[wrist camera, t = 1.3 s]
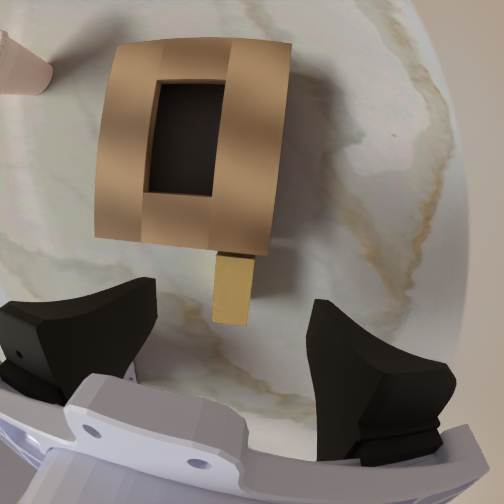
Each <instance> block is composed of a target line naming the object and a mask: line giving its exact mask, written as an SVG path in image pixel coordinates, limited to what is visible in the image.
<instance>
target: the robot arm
mask: <svg viewBox="0 0 504 504" xmlns="http://www.w3.org/2000/svg"><path fill="white" fill-rule="evenodd" d="M157 317H158V315H157V299H156V279H154V278H148V277H141V278H137V279H134V280H131V281H128V282H125V283H123V284H120V285H117V286H115V287H112V288H109V289H106V290H103V291H100V292H97V293H94V294H91V295H87V296H83V297H79V298H74V299H68V300H61V301H54V302H19V301H10V302H8V303H6V304H5V305H4V306H2V307H1V308H0V345H1V348H2V350H3V352H4V354H5V357H6V360H5V361H4V362H3V363H2V362H1V360H0V504H17V502H18V501H19V500H20V498H21V497H22V496H23V494H24V493H25V494H24V496H23V498H22V499H21V501H20V503H19V504H446V503H448V502H450V501H451V500H453V499H454V498H456V497H457V496H458V495H460V494H461V493H462V492H464V491H465V490H467V489H468V488H469V487H470V486H472V485H473V484H474V483H475V482H477V481H478V480H479V479H480V478H481V477H483V476H484V475H485V474H486V473H487V472H488V471H489V469H490V468H489V466H488V464H487V461H486V459H485V457H484V455H483V453H482V451H481V449H480V447H479V445H478V443H477V441H476V439H475V437H474V435H473V433H472V431H471V430H470V428H469V426H468V424H464V425H461V426H458V427H455V428H451V429H449V430H446V431H444V432H443V433H441V434H439V432H438V430H437V428H438V427H439V426H440V421H439V419H438V415H439V414H440V413H441V411H442V410H443V409H444V407H445V406H446V404H447V403H448V401H449V400H450V398H451V397H452V395H453V393H454V391H455V387H456V378H455V376H454V375H453V373H452V372H451V370H450V369H449V367H448V366H447V364H446V363H441V362H437V361H433V360H429V359H425V358H421V357H418V356H415V355H412V354H410V353H407V352H405V351H402V350H400V349H398V348H396V347H393V346H391V345H389V344H387V343H385V342H384V341H382V340H380V339H379V338H377V337H375V336H374V335H372V334H370V333H369V332H368V331H366V330H365V329H363V328H362V327H361V326H359V325H358V324H357V323H355V322H354V321H353V320H352V319H351V318H349V317H348V316H347V315H346V314H345V313H343V312H342V311H341V310H340V309H339V308H338V307H337V306H335V305H334V304H333V303H332V302H330V301H329V300H322V299H315V300H314V305H313V309H312V314H311V318H310V322H309V326H308V330H307V334H306V348H307V357H308V362H309V367H310V372H311V377H312V382H313V387H314V392H315V399H316V413H317V462H311V461H304V460H298V459H293V458H287V457H282V456H278V455H273V454H268V453H264V452H260V451H256V450H252V449H248V448H247V445H248V435H249V430H248V427H247V424H246V421H245V419H244V418H243V417H241V416H240V415H239V414H237V413H236V412H235V411H233V410H232V409H231V408H229V407H228V406H226V405H223V404H220V403H217V402H214V401H211V400H207V399H204V398H198V397H193V396H188V395H183V394H178V393H174V392H169V391H165V390H161V389H157V388H153V387H149V386H145V385H141V384H138V383H137V380H136V374H135V369H134V363H133V360H134V358H135V357H136V355H137V353H138V352H139V350H140V349H141V347H142V346H143V344H144V343H145V341H146V339H147V338H148V336H149V335H150V333H151V331H152V329H153V327H154V324H155V322H156V320H157Z"/></svg>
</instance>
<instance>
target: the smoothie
mask: <svg viewBox="0 0 504 504" xmlns="http://www.w3.org/2000/svg"><path fill="white" fill-rule="evenodd" d="M52 75H53V68H52V66H51V65H50V64H48V63H47V62H45V61H44V60H42V59H41V58H39V57H38V56H37V55H35V54H34V53H32V52H31V51H29V50H28V49H26V48H24V47H23V46H21V45H20V44H18V43H17V42H16V41H14V40H12V39H11V38H9V36H8V33H7V32H6V31H2V30H0V94H14V95H39V94H41V93H42V92H43V91H44V90H45V89H46V88H47V86H48V85H49V83H50V81H51V79H52Z"/></svg>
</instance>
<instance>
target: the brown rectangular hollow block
mask: <svg viewBox="0 0 504 504" xmlns="http://www.w3.org/2000/svg"><path fill="white" fill-rule="evenodd" d="M291 49H292V44H289V43H283V42H275V41H266V40H256V39H243V38H219V37H200V38H176V39H163V40H153V41H144V42H137V43H130V44H124V45H119V46H117V49H116V53H115V56H114V60H113V64H112V68H111V72H110V77H109V81H108V86H107V91H106V96H105V101H104V107H103V113H102V120H101V127H100V134H99V143H98V152H97V164H96V179H95V211H94V221H95V237H97V238H106V239H115V240H124V241H133V242H142V243H151V244H161V245H170V246H179V247H188V248H197V249H206V250H215V251H225V252H234V253H243V254H252V255H262V256H268V250H269V243H270V235H271V227H272V219H273V211H274V203H275V195H276V187H277V179H278V170H279V162H280V153H281V144H282V136H283V127H284V118H285V108H286V99H287V89H288V80H289V70H290V59H291ZM161 84H225V91H224V98H223V105H222V113H221V120H220V128H219V136H218V145H217V153H216V163H215V172H214V182H213V192H212V196H205V195H193V194H179V193H165V192H148V191H149V177H150V165H151V154H152V145H153V137H154V129H155V121H156V114H157V108H158V101H159V95H160V90H161Z"/></svg>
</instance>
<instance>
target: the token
mask: <svg viewBox="0 0 504 504" xmlns="http://www.w3.org/2000/svg"><path fill="white" fill-rule="evenodd" d="M254 261H255V255H252V254H243V253H234V252H225V251H218V253H217V255H216V266H215V280H214V295H213V312H212V322H216V323H224V324H233V325H242V326H247V319H248V311H249V303H250V295H251V286H252V278H253V270H254Z"/></svg>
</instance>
